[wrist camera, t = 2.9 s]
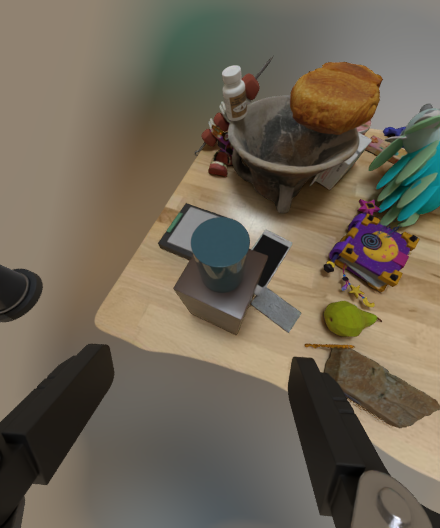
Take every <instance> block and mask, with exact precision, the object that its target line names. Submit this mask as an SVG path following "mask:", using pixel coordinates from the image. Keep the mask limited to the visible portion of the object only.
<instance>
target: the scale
mask: <svg viewBox="0 0 440 528" xmlns="http://www.w3.org/2000/svg"><path fill="white" fill-rule="evenodd" d="M216 217H224V216H221V215H218V214H215V213H213V212H210V211H207V210H204V209H201V208H198V207H196V206H193V205H190V204H187V203H186V204H185V205H184V207H183V208H182V210H181V211H180V212H179V214H178V215H177V216H176V218H175V219H174V221H173V222H172V224H171V225H170V226H169V228H168V229H167V231H166V233H165V234H164V235H163V237H162V238H161V240H160V241H159V243H158V244H159V246H160V248H162V249H165V250H167V251H170V252H172V253H174V254H177V255H179V256H181V257H184V258H186V259H189V260H190V259H191V258H192V256H193V252H192V249H191V237H192V234H193V232H194V230H195V229H196V228H197V227H198V226H199V225H200V224H201V223H203V222H204V221H206V220H208V219H211V218H216ZM226 218H227V217H226Z"/></svg>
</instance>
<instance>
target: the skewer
mask: <svg viewBox="0 0 440 528" xmlns="http://www.w3.org/2000/svg"><path fill="white" fill-rule="evenodd" d="M272 58H273V57H271V58H270V59H269V60H268V61H267V63H266V64H265V65H264V66H263V68H262V69H261V70H260V72H259V73H258V74H257V76H256V77H254V76H253V75H251V74H247V75H245V76H244V77H243V78H242V79H241V80H242V81H243V82H244V83H245V91H246V102H247V106H248V105H249V104H251V103H252V102H251V100H253V99H255V97H256V95H257V93H258V91H259V83H258V81H257V78H258V77H259V76H260V75H261V73H262V72H263V71H264V69H265V68H266V67H267V66H268V64H269V63H270V61H271V59H272ZM221 104H222V106H221V105H220V109H221V112H222V114H221V113H217V114H216V115H215V117H214V123H215V124H216V125H215V124H214V123H213V120H212V119H210V121H211V123H210V121H209V122H208V123H209V126H210V128H211V127H212V125H214V126H219V127H220V130H221V131H224V132H226V131H227V130H228V128H229V125H230V124H229V123H231V120H229V119H228V118H227V113H226V107H225V105H224V102H223V101H222V102H221ZM222 107H223V108H222ZM223 109H224V110H223ZM224 111H225V112H224ZM211 124H212V125H211ZM211 129H212V128H211ZM210 131H211V130H210V129H206V130H205V131H204V132H203V133H202V139H203V140H204V144H203V145H202V146H201V147H200V149H199V150H198V151H195V156H198V155H199V154H198V155H197V154H196V153H197V152H199V153H200V151H201V150H202V148H203V147H204V146H205V144H208V145H209V146H212V147H213V146H214V145H215V143H216V141H217V138H216V137H215V136H214V135H213V134H212V133H211V132H210Z"/></svg>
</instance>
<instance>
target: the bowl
mask: <svg viewBox="0 0 440 528" xmlns="http://www.w3.org/2000/svg"><path fill="white" fill-rule="evenodd" d="M292 116H293V113H292V111H291V107H290V96H275V97H269V98H265V99H261V100H258V101H255V102H253V103H251V104H249V105H248V106H247V115H246V116H245V117H244V118H243V119H241V120H238V121H231V123H230V125H229V128H228V139H229V142H230V144H231V145H232V147H233V148H234V150H233V154H232V164H233V166H234V169H235V171H236V173H237V174H238V175H239V176H240V177H241V178H242V179H244V180H245V181H248V182H251V183H252V184H253V186H254V188H255V190H256V191H257V192H258V193H259V194H261V195H262V196H264V197H265V198H267V199H270V200H272V201H274V202H275V205H276V208H277V211H278V212H280V213H287V212H288V211H289V209H290V206H291V201H292V198H293V197H295V196H296V195H297V194H298V192H299V190H300V189H301V187H302V186H303V184H304V183H305V182H306V181H307V180H309V179H310V178H312V177H313V176H315V175H317V174H319V173H321V172H323V171H325V170H327V169H330V168H332V167H335V166H337V165H339V164H341V163H343V162H344V161H346V160H348V159H349V158H351V157H352V156H353V155H354V154H355V152H356V151H357V149H358V146H359V135H358V131H357V128H355V129H352V130H349V131H347V132H344V133H342V134H340V135H335V134H326V133H320V132H317V131H314V130H311V129H308V128H306V127H305V126H303V125H301V124H299V123H297V122H296V121H295V120H294V118H293V117H292ZM241 158H242V159H243V160H244V161H245V162H246V163H247V165H248V167H247V166H245V165H244V164H243V162H242V160H241Z"/></svg>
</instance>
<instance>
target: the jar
mask: <svg viewBox="0 0 440 528" xmlns="http://www.w3.org/2000/svg"><path fill="white" fill-rule="evenodd" d="M249 246H250V238H249V234H248V232H247V230H246V229H245V228H244V226H243V225H242V224H240V223H239V222H237V221H236V220H233V219H230V218H226V217H216V218H211V219H208V220H206V221H204V222H203V223H201V224H200V225H199V226H198V227H197V228H196V229H195V230H194V232H193V234H192V237H191V249H192V252H193V256H194V259H195V262H196V265H197V268H198V271H199V275H200V278H201V280H202V282H203V284H204V285H205V286H206V287H207V288H208V289H210V290H211V291H214V292H218V293H226V292H230V291H232V290H234V289H236V288H237V287H238V286H239V285H240V284H241V282H242V280H243V278H244V273H245V268H246V262H247V257H248V251H249Z"/></svg>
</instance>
